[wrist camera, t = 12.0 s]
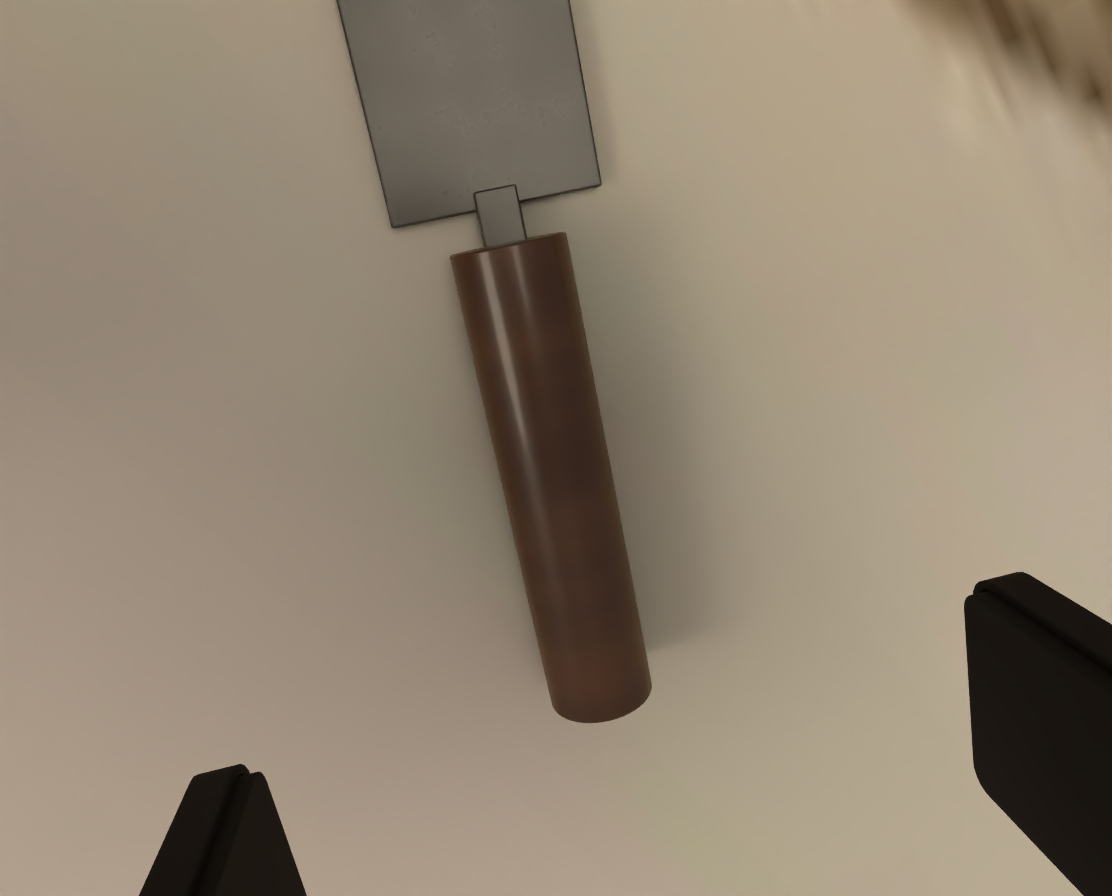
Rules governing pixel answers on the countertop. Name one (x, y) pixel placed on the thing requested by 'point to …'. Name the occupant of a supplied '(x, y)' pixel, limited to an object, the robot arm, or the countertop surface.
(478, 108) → the spatula
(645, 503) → the countertop surface
